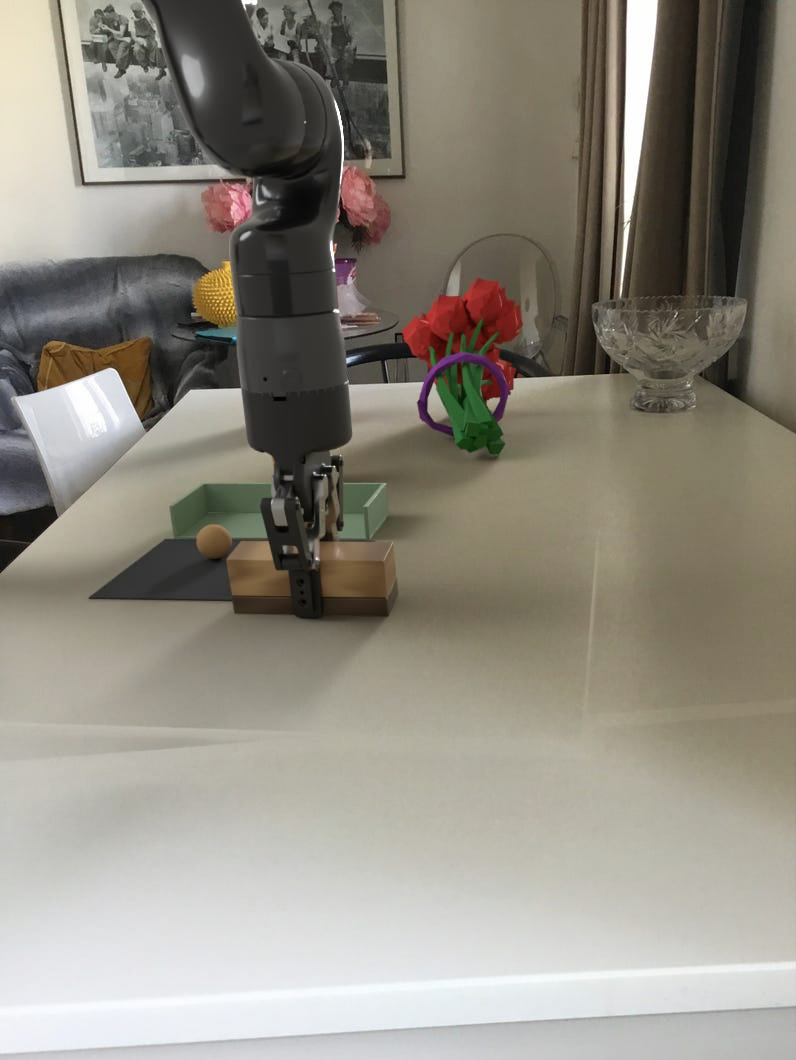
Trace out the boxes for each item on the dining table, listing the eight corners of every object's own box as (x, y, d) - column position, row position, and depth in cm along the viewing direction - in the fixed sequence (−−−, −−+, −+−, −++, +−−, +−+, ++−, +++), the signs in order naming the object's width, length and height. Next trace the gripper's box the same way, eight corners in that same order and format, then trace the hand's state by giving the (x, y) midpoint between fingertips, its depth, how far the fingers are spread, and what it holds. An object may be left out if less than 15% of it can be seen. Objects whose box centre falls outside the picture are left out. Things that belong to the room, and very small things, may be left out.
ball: (193, 563, 91) (188, 530, 90) (206, 552, 94) (201, 520, 93) (227, 563, 91) (222, 530, 90) (238, 552, 94) (234, 520, 92)
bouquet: (419, 511, 127) (405, 412, 152) (554, 503, 129) (518, 406, 153) (412, 353, 116) (398, 273, 140) (560, 346, 117) (520, 268, 142)
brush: (234, 614, 80) (224, 560, 78) (250, 591, 84) (242, 539, 82) (388, 617, 79) (383, 562, 77) (398, 594, 82) (393, 540, 80)
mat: (89, 600, 84) (88, 597, 84) (165, 541, 98) (165, 538, 98) (332, 604, 82) (331, 601, 82) (375, 543, 96) (375, 540, 96)
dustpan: (369, 541, 96) (367, 506, 95) (174, 539, 99) (168, 505, 97) (403, 494, 111) (401, 463, 110) (232, 494, 114) (228, 463, 112)
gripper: (273, 363, 81) (296, 572, 88) (207, 397, 68) (239, 640, 75) (368, 362, 80) (384, 573, 87) (319, 396, 67) (342, 642, 74)
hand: (316, 603), depth 81 cm, fingers closed on brush, 4 cm apart
